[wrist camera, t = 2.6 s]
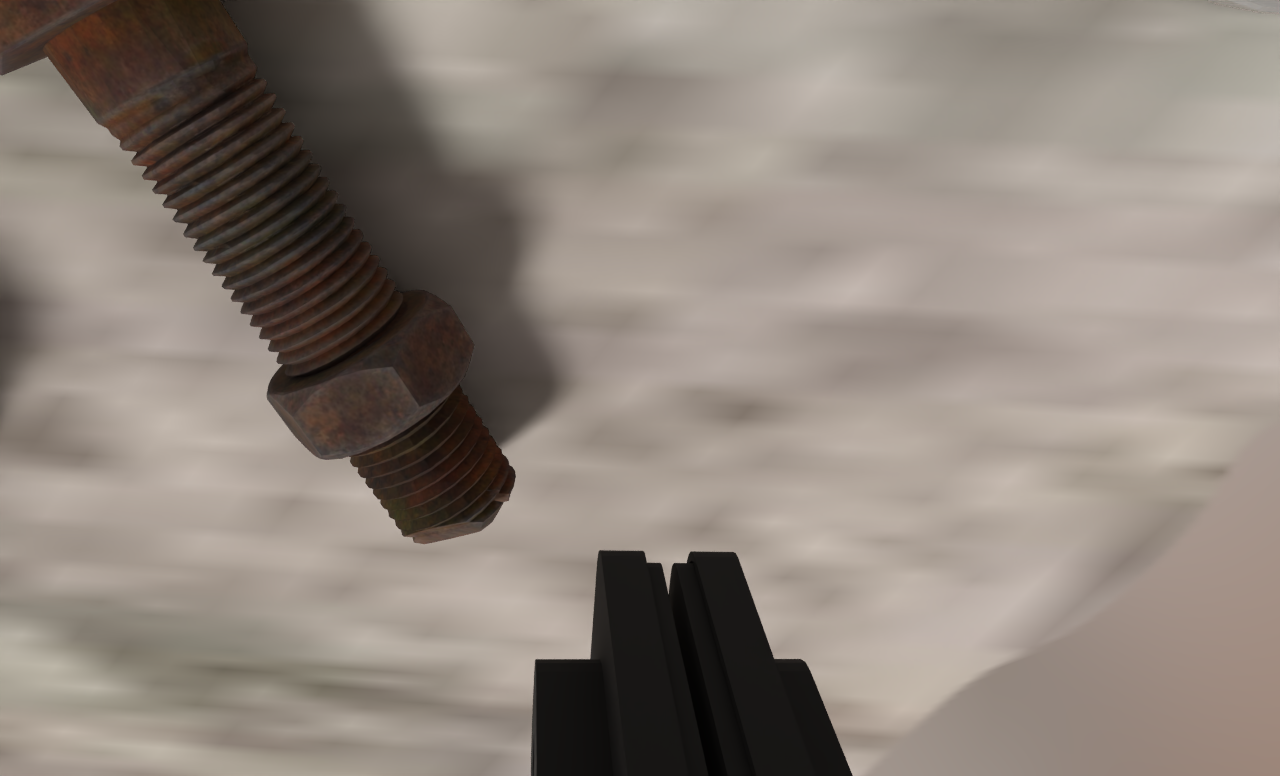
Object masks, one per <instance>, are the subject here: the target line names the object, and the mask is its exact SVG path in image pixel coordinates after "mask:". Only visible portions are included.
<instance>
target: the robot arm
mask: <svg viewBox="0 0 1280 776" xmlns="http://www.w3.org/2000/svg"><path fill="white" fill-rule="evenodd" d="M1208 1H1210V2H1212V3H1214V4H1218V5H1223V6H1228V7H1233V8H1238V9H1243V10H1248V11H1252V12H1257V13H1276V14H1280V0H1208ZM531 776H852V773H851V771H850V768H849V766H848V763H847V761H846V758H845V756H844V753H843V751H842V748H841V746H840V743H839V741H838V738H837V736H836V733H835V731H834V729H833V726H832V724H831V721H830V719H829V716H828V714H827V711H826V709H825V706H824V704H823V701H822V699H821V696H820V694H819V691H818V689H817V686H816V684H815V681H814V679H813V677H812V674H811V672H810V670H809V668H808V666H807V664H806V662H804V661H803V660H801V659H774V657H773V654H772V652H771V649H770V646H769V643H768V640H767V638H766V635H765V632H764V629H763V626H762V624H761V621H760V618H759V615H758V612H757V610H756V607H755V604H754V601H753V598H752V596H751V593H750V590H749V587H748V584H747V582H746V579H745V576H744V573H743V570H742V568H741V565H740V562H739V559H738V557H737V555H736V553H734V552H690V554H689V556H688V560H687V563H674V564H673V566H672V570H671V578H670V588H669V595H668V591H667V586H666V582H665V577H664V573H663V568H662V565H661V563H647V562H646V557H645V553H644V551H604V550H600V551H599V553H598V561H597V573H596V587H595V602H594V616H593V630H592V644H591V658H590V659H536V660H535V672H534V693H533V716H532V748H531Z"/></svg>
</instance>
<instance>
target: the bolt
mask: <svg viewBox="0 0 1280 776" xmlns="http://www.w3.org/2000/svg"><path fill="white" fill-rule="evenodd" d="M46 57H48V58H49V59H50V60H51V62H52V63H53V64H54V66H55V67H56V68H57V70H58V71H59V72H60V74H61V75H62V76H63V78H64V79H65V80H66V82H67V83H68V84H69V86H70V87H71V88H72V90H73V91H74V92H75V94H76V95H77V96H78V98H79V99H80V100H81V102H82V103H83V105H84V106H85V107H86V109H87V110H88V111H89V113H90V114H91V115H92V117H93V118H94V119H95V121H96V122H97V123H98V124H100V125H102V126H104V127H106V128H108V130H109V131H110V133H111V134H112V135H113V136H114V137H116V138H117V139H119V140H120V147H121V148H122V150H126V151H135V152H137V153H136V155H135V156H134V158H133V159H132V160H131V162H132V164H133V165H139V166H147V169H146V170H145V172H144V173H143V175H142V177H143V179H144V180H155V181H157V184H156V185H155V187H154V188H153V189H152V190H153V192H154V193H155V194H167V198H166V200H165V201H164V203H163V204H162V205H163V206H164V208H172V209H177V210H178V211H177V213H176V214H175V216H174V218H173V219H172V220H174V221H175V222H178V223H187V224H188V226H187V228H186V230H185V232H184V236H185V237H188V238H196V239H198V240H197V242H196V243H195V245H194V247H193V248H194V250H195V251H208V252H207V254H206V256H205V257H204V259H203V262H205V263H213V264H216V266H215V268H214V271H213V273H212V274H213V276H226V278H225V280H224V282H223V284H222V287H223V288H224V289H232V290H235V291H234V293H233V295H232V297H231V300H232V302H244V303H243V306H242V309H241V313H242V314H250V315H253V317H252V319H251V322H250V326H254V327H262V329H261V332H260V336H259V338H260V339H268V340H271V341H270V344H269V347H268V350H269V351H271V352H279V355H278V357H277V363H278V364H283V365H282V366H281V367H280V368H279V369H278V370H277V372H276V373H275V374H274V376H273V377H272V379H271V381H270V383H269V386H268V391H267V399H268V401H269V402H270V404H271V405H272V406H273V408H274V409H275V410H276V412H277V413H278V414H279V416H280V417H281V418H282V420H283V421H284V422H285V424H286V425H287V426H288V428H289V429H290V430H291V432H292V433H293V434H294V436H295V437H296V438H297V439H298V440H299V441H300V442H301V443H302V444H303V445H304V446H305V447H306V448H307V449H308V450H309V451H310V452H311V453H312V454H313V455H315V456H316V457H318V458H320V459H325V460H329V459H341V458H345V457H348V456H349V457H351V460H350V462H351V464H352V465H353V466H354V467H358V473H359V475H360V476H361V477H363V478H366V482H365V483H366V484H367V486H368V487H369V488H372V489H373V494H374V495H375V496H376V497H377V499H381V505H382V506H383V508H385V509H387V510H388V512H389V517H390V518H393V519H395V523H396V526H397V527H398V528H399V529H401V532H402V535H403V536H404V537H413V541H414V542H415V543H421V544H428V543H432V542H437V541H442V540H446V539H451V538H455V537H459V536H463V535H467V534H471V533H475V532H479V531H481V530H483V529H484V528H485V527H486V526H488V525H489V524H490V523H492V521H493V520H494V518H495V517H496V515H497V513H498V512H499V510H500V508H501V506H502V504H503V503H504V502H505V501H509V497H510V493H511V491H512V489H513V487H514V482H515V477H516V475H515V470H514V469H513V467H512V466H510V465H509V461H508V459H507V458H506V456H504V455H503V454H502V450H501V449H500V448H499V447H498V446H497V445H496V442H495V441H494V439H493V437H492V436H490V435H489V431H488V428H486V427H485V426H483V425H482V418H480V417H479V416H477V415H476V411H475V409H474V408H473V406H472V405H471V404H469V402H468V397H467V396H466V395H464V394H463V393H462V389H461V387H460V385H459V383H460V382H461V381H462V379H463V378H464V377H465V374H466V372H467V369H468V366H469V363H470V359H471V356H472V352H473V348H474V343H473V342H472V340H471V338H470V337H469V335H468V333H467V332H466V330H465V329H464V327H463V325H462V324H461V322H460V320H459V319H458V317H457V316H456V314H455V312H454V311H453V309H452V307H451V306H450V305H448V304H447V303H445V302H444V301H443V300H441V299H440V298H438V297H437V296H435V295H433V294H431V293H429V292H426V291H424V290H412V291H406V292H403V293H400V292H398V291H394V289H395V282H394V281H393V280H390V279H386V277H387V270H386V269H385V268H383V267H378V264H379V257H378V256H377V255H370V252H371V246H370V244H369V243H368V242H361V241H362V238H363V234H362V232H361V231H360V230H359V229H353V227H354V218H352V217H344V215H345V211H346V206H345V205H343V204H335V203H336V200H337V197H338V193H337V192H336V191H327V188H328V186H329V183H330V181H329V180H328V178H327V177H318V176H319V174H320V171H321V167H320V165H319V164H309V163H310V160H311V157H312V155H313V153H312V152H311V151H310V150H300V149H301V146H302V144H303V141H304V140H303V139H302V138H301V136H291V135H292V132H293V130H294V127H295V125H294V124H293V123H292V122H285V123H282V119H283V117H284V115H285V112H286V111H285V110H284V109H283V108H272V107H273V104H274V102H275V100H276V95H275V94H274V93H269V94H263V93H264V91H265V88H266V85H267V82H266V81H265V79H255V74H256V71H257V66H256V65H255V64H254V62H253V61H252V59H251V58H250V56H249V55H248V47H247V43H246V41H245V40H244V38H243V36H242V35H241V33H240V32H239V30H238V29H237V27H236V25H235V24H234V22H233V21H232V19H231V18H230V16H229V14H228V13H227V11H226V10H225V8H224V6H223V5H222V3H221V2H220V0H0V75H4V74H7V73H9V72H12V71H14V70H16V69H19V68H21V67H24V66H26V65H29V64H31V63H34V62H36V61H38V60H41V59H43V58H46Z"/></svg>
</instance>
